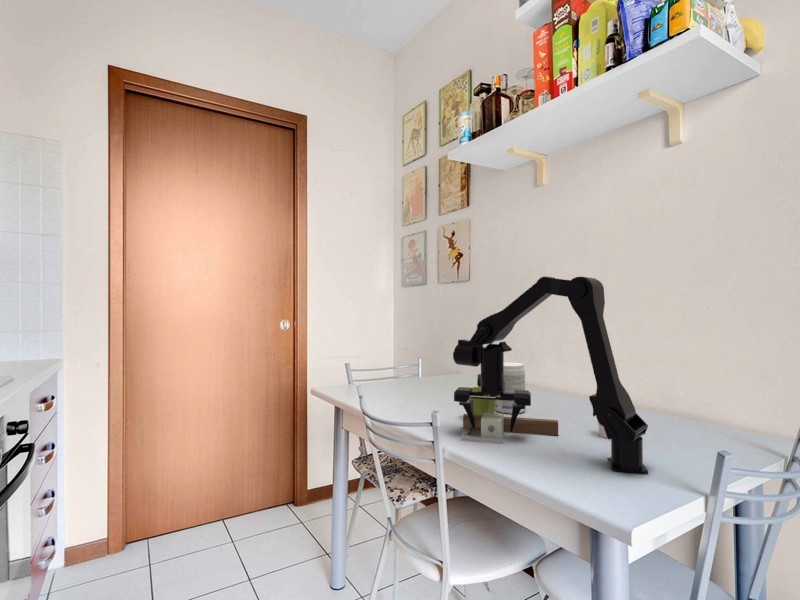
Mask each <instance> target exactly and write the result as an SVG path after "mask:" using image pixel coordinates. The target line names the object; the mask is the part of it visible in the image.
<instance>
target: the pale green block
mask: <svg viewBox="0 0 800 600" xmlns="http://www.w3.org/2000/svg"><path fill="white" fill-rule="evenodd" d="M504 414H505V413H497V412H494V413H484V414H483V416H482V418H481V430H480V436H483V437H495V438H503V439H504V433H505V432H504Z"/></svg>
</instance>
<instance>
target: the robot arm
mask: <svg viewBox="0 0 800 600" xmlns="http://www.w3.org/2000/svg"><path fill="white" fill-rule="evenodd" d="M552 295H553V296H560V297H567V299H568V300H569V301H568V302H569V303H570V305H571V308H572V310H574V312H575V314H576V315H577V316H578V318H579V320H580V322H581V326H582V330H583V334H584V337H585V341H586V346H587V351H588V354H589V359H590V363H591V366H592V371H593V376H594V380H595V382H596V389H595V390H596V391H595V394H592V395H589V397H588V398H589V402H590V404H591V406H592V407H591V408H592V417H596V419H597V423H598V422H599V423H600V425H602V426H603V427H604V430H605V432H606V435H607V437H606V438H607V439H609V440H610V449H611V450H610V452H611V454H610V457H606V460H607V463H608V465H609V466H610V469H611V471H615V472H616V471H617V472H625V473H636V474H646V475H647V474H649V469H647V467H646V465H644V463H643V462H644V461H643V460H644V459H643V458H644V453H643V451H644V450H643V449H644V448H643V446H644V445H643V443H644V441H643V435H644V436H645V434H646V432H647V430H648V427H649V425H648V424H647V422H646V421H644V419H643V418H642V417H641V416H640V415H639V414H638V413H637V411H636V408H635V405H634V403H633V401H632V399H631V396H630V395H629V393H628V391H627V390H626V389H625V387H624V385H623V384H622V383H621V380H620V377H619V374H618V369H617V366H616V362H615V357H614V354H613V350H612V346H611V342H610V338H609V334H608V330H607V327H606V322H605V319H604V313H605V303H606V302H605V301H606V299H605V298H606V297H605V288H604V285H603V283H602V282H601V281H600V280H598V278H597V279H596V278H594V277H586V276H576V277H573V278H571V280H570V279H563V278H562V279H561V278H556V277H552V276H546V275H545V276H542V277H541V276H540V278H538V280H537V281H536V282H535V283H534V284H532V286H530V287H528V289H527V290H526V291H524V292H523V293H522V294H520V295H519V296H518V297H517V298H515V300H513V301H512V302H511V303H510V304H509V303H508V305H507V306H506V307H505V308H503V309H502V310H501V311H498V312H495V313H493V314H490V315H489V316H486V317H485V318H483V319H482V320H480V321H479V322H477V325H476V330H475V332H474V333H473V335H472V337H471V338H470V339H469V340H468V339H457V344H456V345H455V347H454V351H453V353H452V357H453V358H452V359H453V361H454V363H455V364H456V365H457V366H458V365H459V366H469V367H475V368H476V367H479V366H480V373H479V374H478V373H477V382H476V386H477V387H481V392H478V391H472V388H470V387H467V386H466V387H462V386H458V387H457V388H456V389H455V391H454V392H453V393H454V394H453V401H454V402H456V403H457V402H458V405H459V406H462V407H463V408H464V410H465V413H466V414H468V417H469V419H470V422H471V425H472V428H473V429H472V430H475V416H474V408H473V399H489V400H506V401H514V403H513V409H512V414H511V416H510V417H511V424H510V432H509V433H513V432H512V430H513V427H514V424H515V421H516V418H517V417H518V416H519V414H520V413H519V412H520V410H521V409H525V410H526V407H529V406H531V405H532V402H531V399H532V397H531V396H532V395H531V394H532V393H531V392H530V391H529V390H526V389H525V390H515V391H514V393H504V391H505V382H504V356H505V355H504V353H506V352H511V351H512V350H513V348H512V347H510V345H508V344H507V342H506V341H504V339H505V338H506V337H507V336H508V335H510V333H511V332H512V331H513V329H514V327H515V326H516V324H517V323H518V322H519V321H520V320H521V319H523V318H524V317H525V316H526V315H528V314H529V313H530V312H532V311H533V310H534V309H535V308H537V307H538V306H539V305H540V304H542V303H543V302H545V301H546V300H547V299H548V298H549V297H551V296H552ZM495 342H499V343H495ZM485 345H486V346H485ZM484 394H486V395H489V396H484ZM496 396H501V397H496Z"/></svg>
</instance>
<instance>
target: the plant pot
mask: <svg viewBox="0 0 800 600" xmlns="http://www.w3.org/2000/svg"><path fill="white" fill-rule="evenodd" d="M469 388H472V391H478V392H481V387H478V386H470V387H469ZM484 396H489V395H486V394H484ZM496 397H497V396H496ZM495 403H496V400H489V399H473V408H474V414H476V415H483V414H484V413H495V412H496V410H495Z"/></svg>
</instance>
